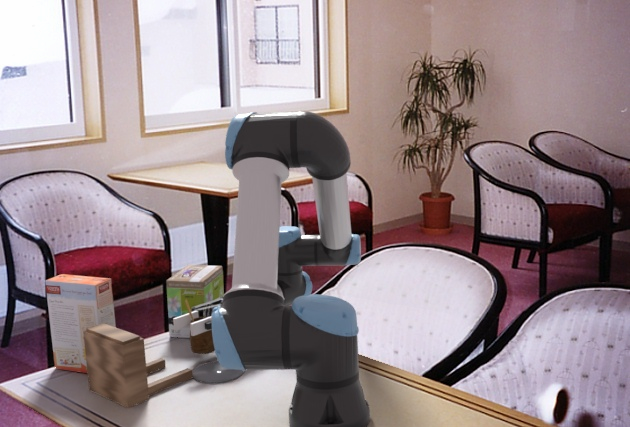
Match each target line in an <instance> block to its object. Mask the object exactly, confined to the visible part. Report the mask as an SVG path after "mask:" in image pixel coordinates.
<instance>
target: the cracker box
mask: <svg viewBox="0 0 630 427" xmlns="http://www.w3.org/2000/svg"><path fill="white" fill-rule="evenodd" d="M44 284H45V290H46V300H47V307H48V318H49V326H50V336H51V343H52V344H51V345H52V351H53V352H52V353H53V362H54V368H55V367H56V368H55V370H64V371H70V372H78V373H83V374H88V372H87V363H86V353H85V344H84V334H83V331H86V328H89V327H92V326H95V325H98V324H102V323H104V324H107V325H110V326H113V327H116V326H117V325H116V316H115V305H114V296H113V284H112V278H110V277H109V278H108V277H97V276H85V275H75V274H65V273H62V274H59V275H56V276H53V277H50V278H48V279H46V280H45V283H44ZM116 328H117V327H116Z"/></svg>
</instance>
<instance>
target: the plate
mask: <svg viewBox="0 0 630 427" xmlns="http://www.w3.org/2000/svg"><path fill="white" fill-rule="evenodd" d="M244 372H245V371H243V370H235V369H226V368H224V367H222V366H221V365H220V363H219V362H218V360H215V361H213V360H212V361H207V362H205V363H202V364H200V365H198V366H195V368H194V369H192V374H193V378H192V379H194V380H195V381H197V382H198V383H199V382H200V383H203V384H222V383H223V384H224V383H228V382H231V381H235V380H237V379H239V378H241V376H242V375H243V374H244Z"/></svg>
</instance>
